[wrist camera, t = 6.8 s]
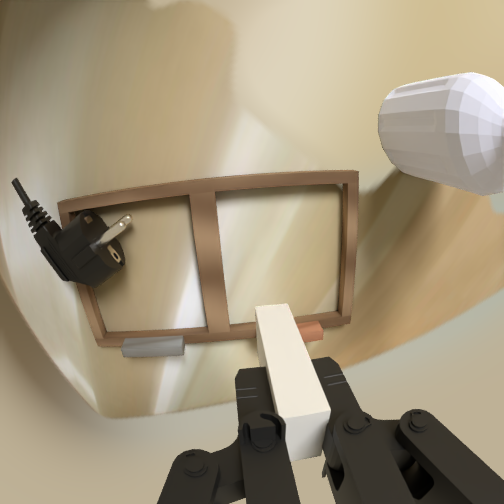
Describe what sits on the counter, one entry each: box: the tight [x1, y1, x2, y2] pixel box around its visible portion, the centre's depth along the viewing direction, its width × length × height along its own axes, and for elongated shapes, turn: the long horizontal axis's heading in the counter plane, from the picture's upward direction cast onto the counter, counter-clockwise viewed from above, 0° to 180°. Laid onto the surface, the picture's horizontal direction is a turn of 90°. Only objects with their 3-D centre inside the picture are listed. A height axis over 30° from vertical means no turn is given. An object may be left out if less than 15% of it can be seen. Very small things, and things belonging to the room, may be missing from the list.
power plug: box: [11, 178, 133, 288], centre depth 21 cm, size 6×8×12 cm
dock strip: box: [57, 170, 359, 357], centre depth 25 cm, size 15×26×3 cm, turn 94°
